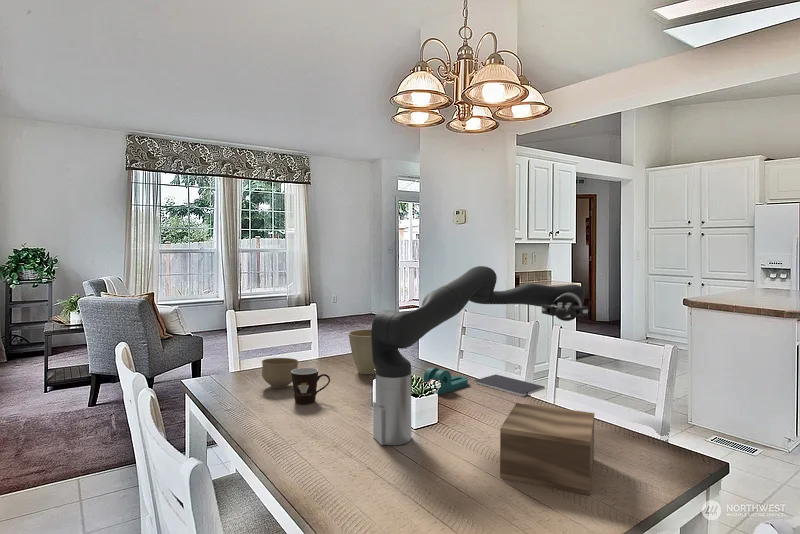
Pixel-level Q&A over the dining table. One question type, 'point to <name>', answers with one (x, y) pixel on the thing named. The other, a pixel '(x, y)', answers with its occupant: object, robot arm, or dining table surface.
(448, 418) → the dining table surface
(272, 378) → the bowl
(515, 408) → the box lid
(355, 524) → the dining table surface
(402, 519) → the dining table surface
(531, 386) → the notebook
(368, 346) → the plant pot
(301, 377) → the coffee mug
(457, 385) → the bracket
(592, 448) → the wooden box
